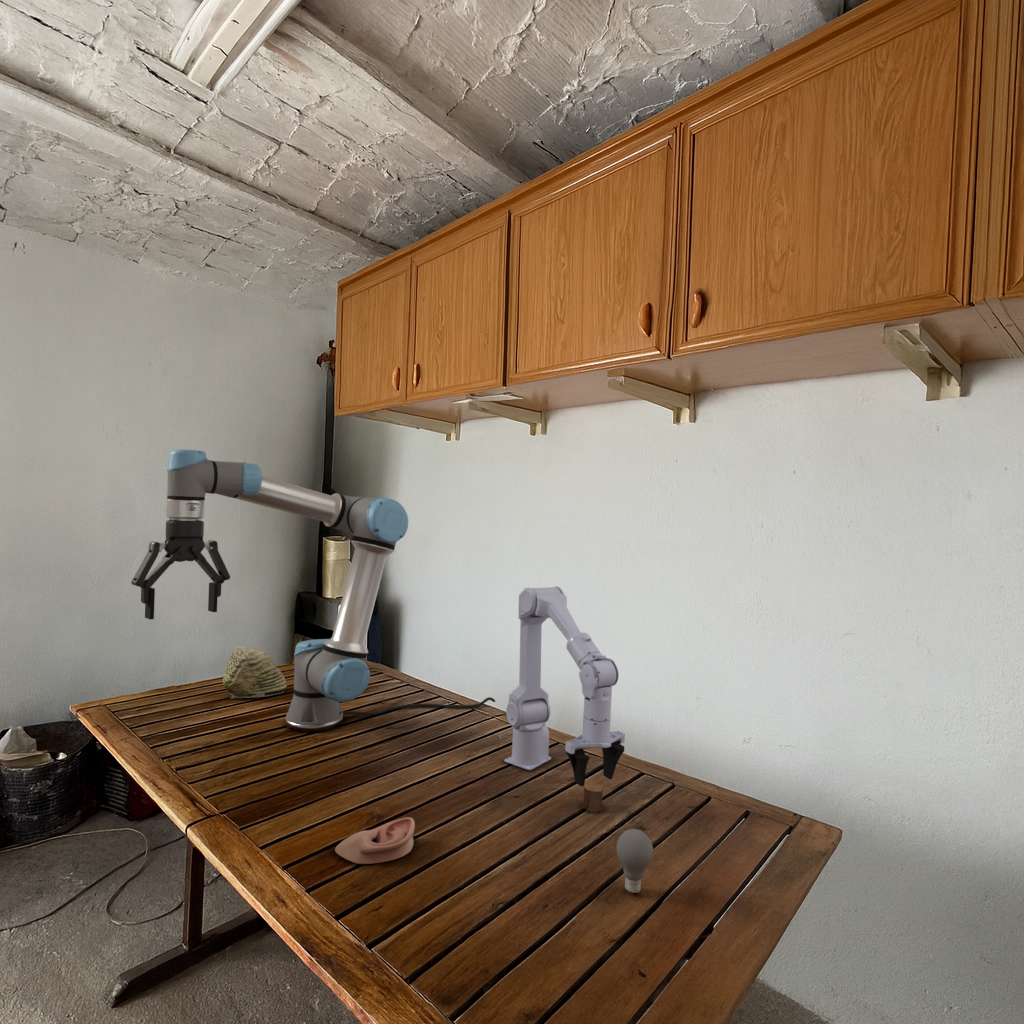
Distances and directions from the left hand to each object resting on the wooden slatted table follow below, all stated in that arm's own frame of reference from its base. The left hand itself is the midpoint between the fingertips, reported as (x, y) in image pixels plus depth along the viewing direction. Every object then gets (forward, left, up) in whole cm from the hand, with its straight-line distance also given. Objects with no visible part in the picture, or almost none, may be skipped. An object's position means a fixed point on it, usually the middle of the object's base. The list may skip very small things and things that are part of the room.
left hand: (182, 614), depth 141 cm
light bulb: (-32, +97, -36) cm, 108 cm away
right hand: (-52, +77, -30) cm, 97 cm away
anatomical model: (-11, +56, -36) cm, 67 cm away
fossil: (-41, -40, -36) cm, 67 cm away
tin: (-52, +77, -36) cm, 99 cm away
